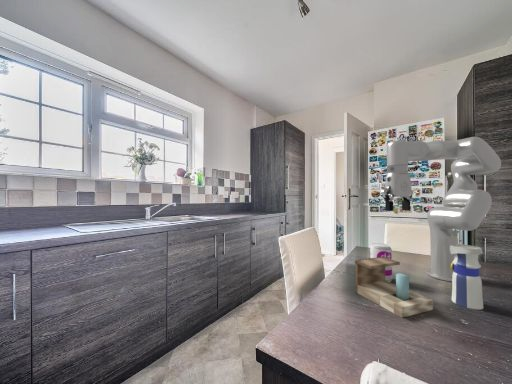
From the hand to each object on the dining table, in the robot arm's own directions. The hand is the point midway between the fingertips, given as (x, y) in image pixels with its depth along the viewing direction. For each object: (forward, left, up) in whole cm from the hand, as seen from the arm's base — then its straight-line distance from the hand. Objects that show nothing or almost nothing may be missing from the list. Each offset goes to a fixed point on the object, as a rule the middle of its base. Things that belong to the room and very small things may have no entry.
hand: (397, 210), depth 90 cm
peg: (+17, +14, -30) cm, 37 cm away
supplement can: (+4, -5, -31) cm, 31 cm away
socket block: (+17, +10, -30) cm, 36 cm away
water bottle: (-5, +20, -31) cm, 37 cm away
